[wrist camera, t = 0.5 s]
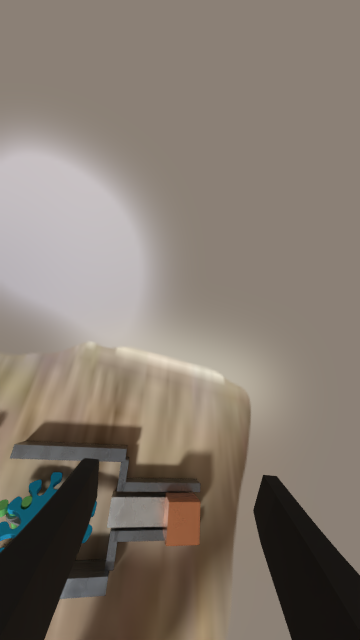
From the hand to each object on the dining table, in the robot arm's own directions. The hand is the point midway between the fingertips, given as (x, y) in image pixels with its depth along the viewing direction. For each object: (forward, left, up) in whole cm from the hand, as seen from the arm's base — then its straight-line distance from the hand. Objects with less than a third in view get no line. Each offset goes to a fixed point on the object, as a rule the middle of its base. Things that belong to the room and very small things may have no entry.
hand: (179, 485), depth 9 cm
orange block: (-10, -2, -26) cm, 28 cm away
